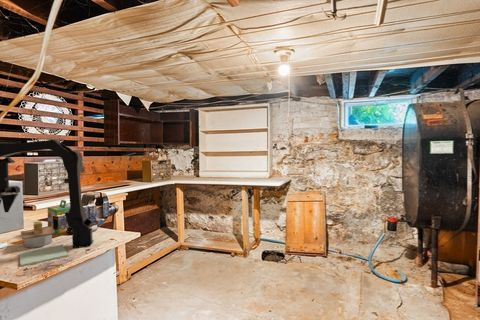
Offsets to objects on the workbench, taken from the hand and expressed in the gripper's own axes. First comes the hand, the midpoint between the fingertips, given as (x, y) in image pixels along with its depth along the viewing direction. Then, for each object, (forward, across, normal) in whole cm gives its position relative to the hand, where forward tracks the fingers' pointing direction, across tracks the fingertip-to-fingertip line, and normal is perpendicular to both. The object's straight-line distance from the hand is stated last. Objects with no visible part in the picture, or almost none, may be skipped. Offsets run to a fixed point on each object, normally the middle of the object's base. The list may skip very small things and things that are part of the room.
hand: (0, 215), depth 105 cm
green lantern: (+15, -25, +13) cm, 32 cm away
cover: (+10, -6, +10) cm, 16 cm away
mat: (+15, +8, +17) cm, 24 cm away
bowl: (+15, -6, +10) cm, 19 cm away
